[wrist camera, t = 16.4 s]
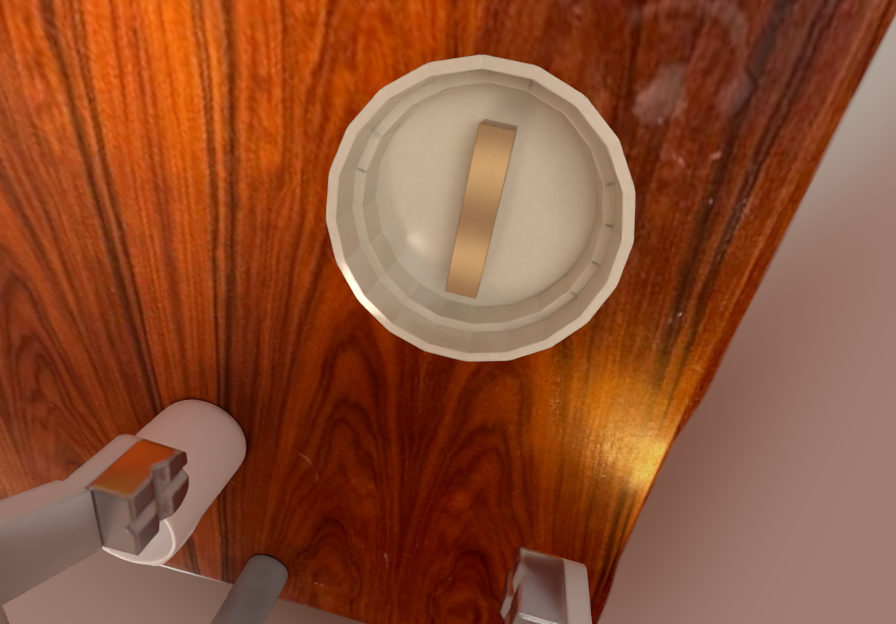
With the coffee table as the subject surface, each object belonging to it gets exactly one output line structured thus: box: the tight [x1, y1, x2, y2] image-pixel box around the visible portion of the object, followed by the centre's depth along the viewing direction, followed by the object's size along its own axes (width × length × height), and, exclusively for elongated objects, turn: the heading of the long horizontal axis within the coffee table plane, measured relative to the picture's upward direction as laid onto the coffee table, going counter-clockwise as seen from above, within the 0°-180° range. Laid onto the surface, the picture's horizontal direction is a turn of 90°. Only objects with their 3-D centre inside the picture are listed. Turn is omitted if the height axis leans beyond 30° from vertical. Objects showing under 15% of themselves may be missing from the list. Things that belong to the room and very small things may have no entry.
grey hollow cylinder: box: [211, 555, 288, 624], centre depth 47 cm, size 4×4×10 cm
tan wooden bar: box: [445, 119, 518, 299], centre depth 29 cm, size 10×2×3 cm, turn 169°
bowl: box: [326, 54, 635, 362], centre depth 28 cm, size 16×16×6 cm
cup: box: [102, 400, 246, 566], centre depth 41 cm, size 8×12×10 cm
